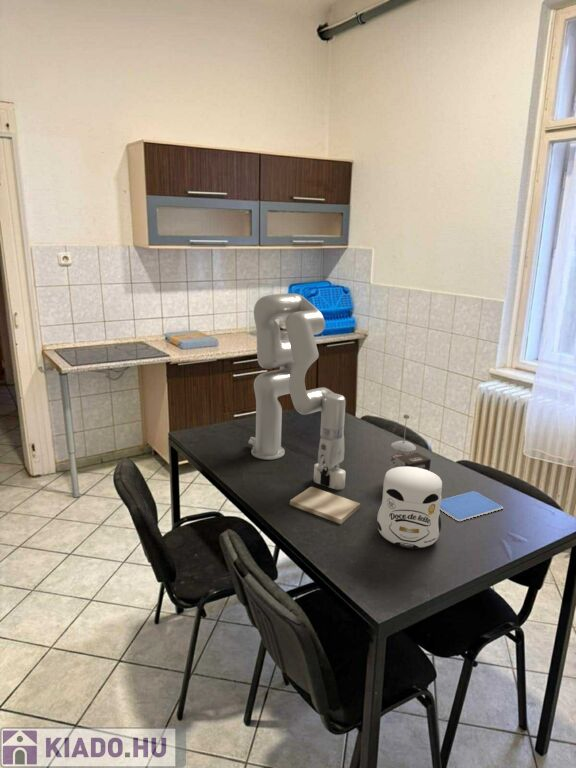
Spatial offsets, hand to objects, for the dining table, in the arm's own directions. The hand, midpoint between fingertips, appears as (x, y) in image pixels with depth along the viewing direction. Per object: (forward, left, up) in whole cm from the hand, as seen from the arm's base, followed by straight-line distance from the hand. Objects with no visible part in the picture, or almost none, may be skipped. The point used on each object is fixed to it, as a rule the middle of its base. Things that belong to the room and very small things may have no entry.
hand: (328, 481), depth 180 cm
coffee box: (+27, +3, -1) cm, 27 cm away
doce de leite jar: (+34, -14, -1) cm, 37 cm away
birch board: (+7, -14, -1) cm, 16 cm away
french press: (+19, +16, -1) cm, 25 cm away
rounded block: (0, 0, -1) cm, 1 cm away
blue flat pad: (+42, +14, -1) cm, 44 cm away
